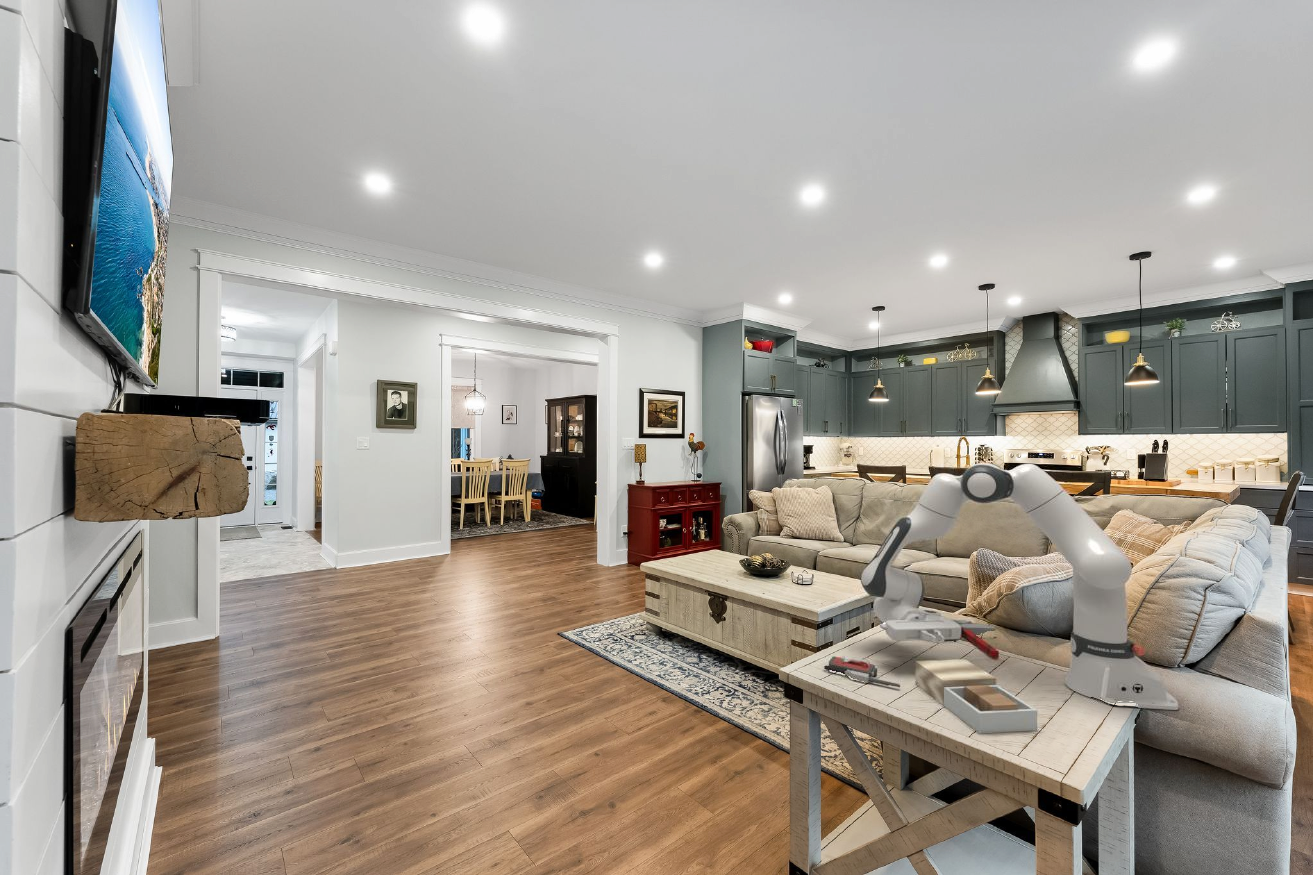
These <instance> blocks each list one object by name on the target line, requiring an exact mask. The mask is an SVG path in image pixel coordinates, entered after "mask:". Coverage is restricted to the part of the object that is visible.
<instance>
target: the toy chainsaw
mask: <svg viewBox="0 0 1313 875" xmlns="http://www.w3.org/2000/svg"><path fill="white" fill-rule="evenodd" d="M825 669H826V671H829V670H832V671H836V672H841V673H843V674H845V675H848V676H850V677H851V678H853V679H857V680H859V681H864V682H865V683H868V684H869V683H872V684H873V683H875V684H879V685H882V686H883V685H884V686H888V687H889V686H890V687H891V686H892V687H896V688H901V685H900V683H896V682H892V681H887V680H882V679H878V678H874V676H875V677H877V676H878V668H877V667H876V665H875V664H873V663H870V661H869V660H867V659H864V658H859V657H854V656H853V657H851V658H846V657H845V656H842V657H838V656H832V657H831V658H830V660H829V661H828V665H824V670H825ZM865 683H864V684H865Z"/></svg>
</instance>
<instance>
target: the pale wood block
mask: <svg viewBox="0 0 1313 875" xmlns="http://www.w3.org/2000/svg"><path fill="white" fill-rule="evenodd" d="M914 683H915V685H917V686H918V687H920V689H922V690H923V691H924V692H926V693H927V694H928V695H930V696H931V697H932V698H933V699H934V700H936V701H937V702H939V703H940V704H941V705H942V706H944V687H961V686H976V685H997V678H996V677H995V676H993V675H992V674H990V673H989V672H986V671H985V670H984V669H982V668H981V667H978V666H977V665H975V664H973V663H972V662H970V661H969V660H967V659H966V658H965V659H964V658H959V659H957V658H955V659H937V660H916V661H915V682H914Z"/></svg>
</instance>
